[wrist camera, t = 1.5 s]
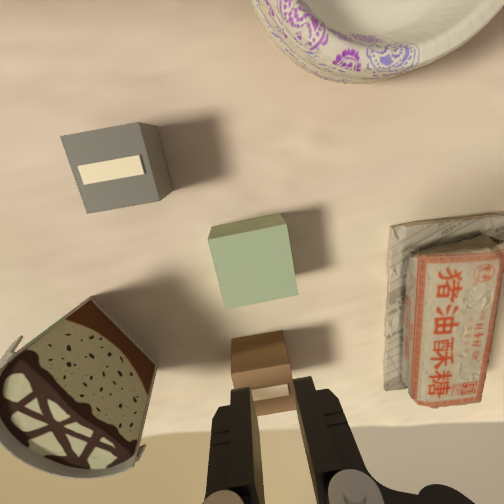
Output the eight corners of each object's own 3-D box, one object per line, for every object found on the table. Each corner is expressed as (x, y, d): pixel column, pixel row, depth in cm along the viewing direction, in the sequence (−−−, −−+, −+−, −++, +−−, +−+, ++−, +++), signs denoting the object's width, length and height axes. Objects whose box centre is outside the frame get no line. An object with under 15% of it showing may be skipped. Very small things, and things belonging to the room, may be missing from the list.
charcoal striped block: (94, 137, 24) (58, 136, 19) (157, 126, 24) (137, 122, 19) (114, 201, 26) (86, 214, 21) (173, 190, 26) (159, 201, 21)
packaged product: (506, 408, 30) (401, 420, 30) (470, 372, 34) (379, 383, 34) (544, 223, 24) (413, 238, 24) (495, 210, 28) (385, 223, 28)
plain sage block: (211, 226, 27) (207, 239, 23) (279, 212, 27) (286, 223, 23) (226, 287, 29) (225, 309, 25) (290, 275, 29) (298, 294, 25)
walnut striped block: (231, 338, 31) (230, 375, 26) (281, 329, 31) (290, 364, 26) (240, 378, 33) (241, 420, 28) (288, 370, 32) (297, 410, 28)
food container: (29, 319, 29) (-70, 404, 20) (78, 283, 28) (-1, 355, 19) (121, 402, 33) (74, 508, 23) (167, 373, 32) (138, 471, 22)
